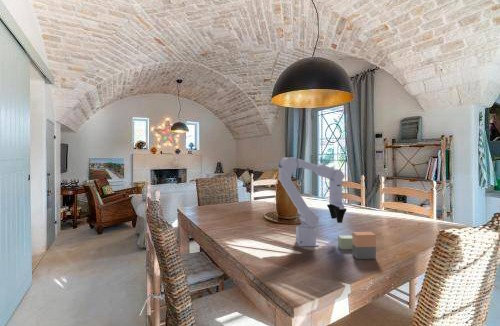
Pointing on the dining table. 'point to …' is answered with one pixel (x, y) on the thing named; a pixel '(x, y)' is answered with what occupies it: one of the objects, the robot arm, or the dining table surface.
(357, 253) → the charcoal block
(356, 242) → the terracotta block
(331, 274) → the dining table surface
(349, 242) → the sage block
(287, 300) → the dining table surface
